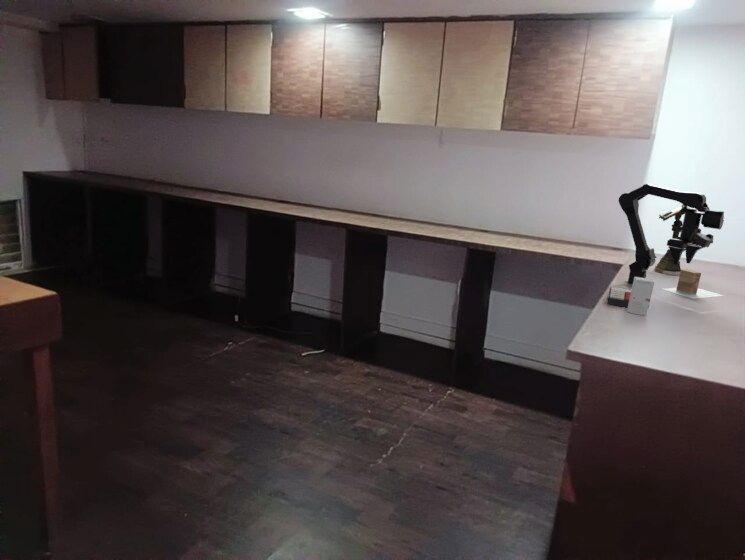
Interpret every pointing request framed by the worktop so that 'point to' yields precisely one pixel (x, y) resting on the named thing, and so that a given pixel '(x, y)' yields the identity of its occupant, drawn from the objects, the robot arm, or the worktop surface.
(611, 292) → the white black red box
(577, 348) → the worktop surface
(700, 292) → the white mat
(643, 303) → the skincare box
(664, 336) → the worktop surface
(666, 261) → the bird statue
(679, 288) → the wooden block
